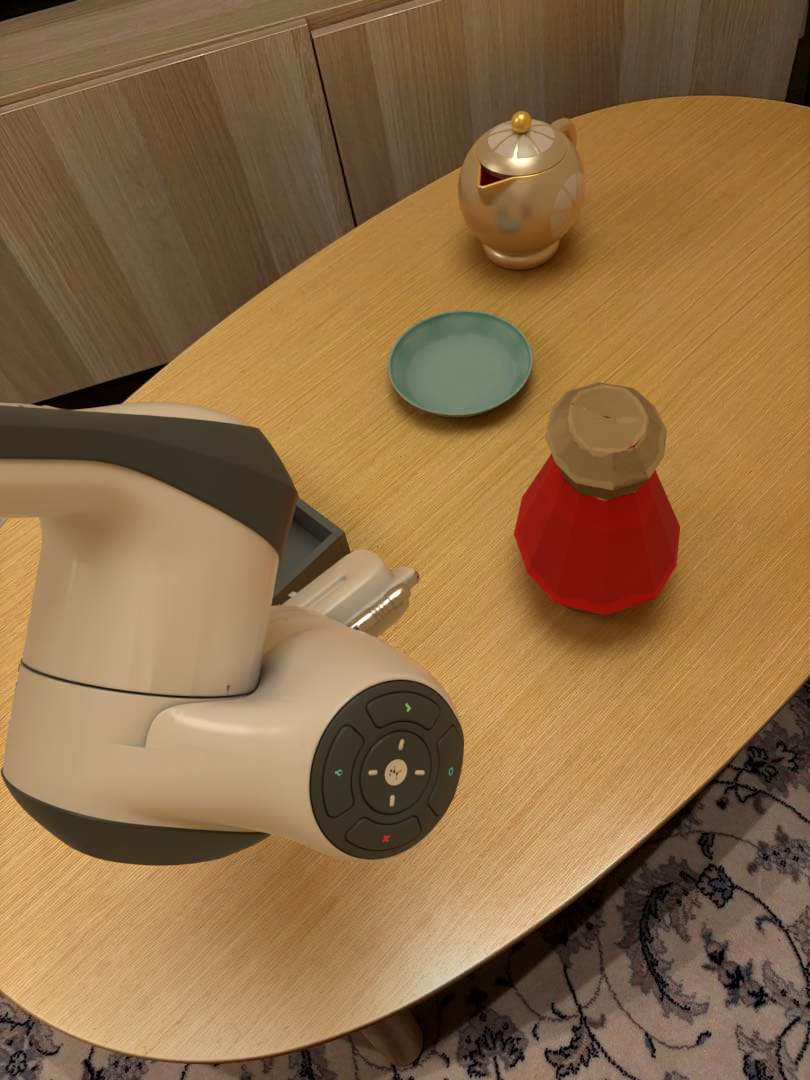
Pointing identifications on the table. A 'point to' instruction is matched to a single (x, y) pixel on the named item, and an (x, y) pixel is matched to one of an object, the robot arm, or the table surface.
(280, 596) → the tray
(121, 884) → the table surface
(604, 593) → the bottle
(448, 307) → the table surface
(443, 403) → the saucer
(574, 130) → the teapot
